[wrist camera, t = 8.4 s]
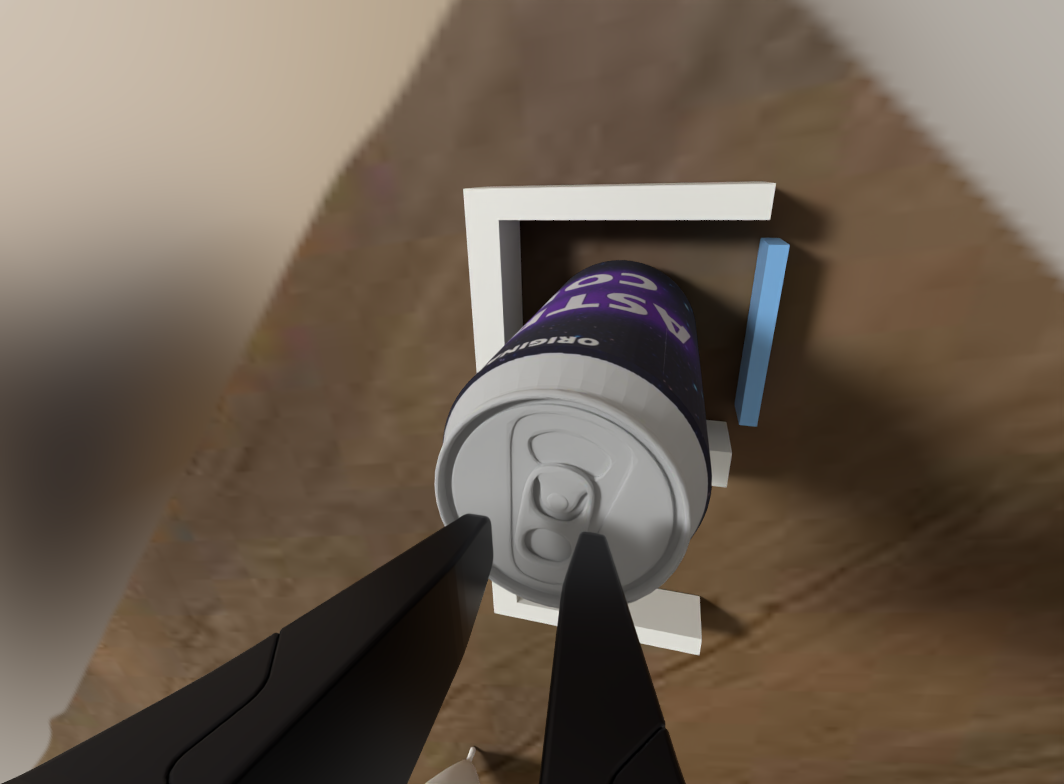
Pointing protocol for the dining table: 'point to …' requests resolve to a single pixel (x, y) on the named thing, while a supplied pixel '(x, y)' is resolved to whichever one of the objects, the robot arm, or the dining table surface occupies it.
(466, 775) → the spinning top
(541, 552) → the beverage can
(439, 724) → the dining table surface
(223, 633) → the dining table surface
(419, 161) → the dining table surface
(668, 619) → the white open frame
